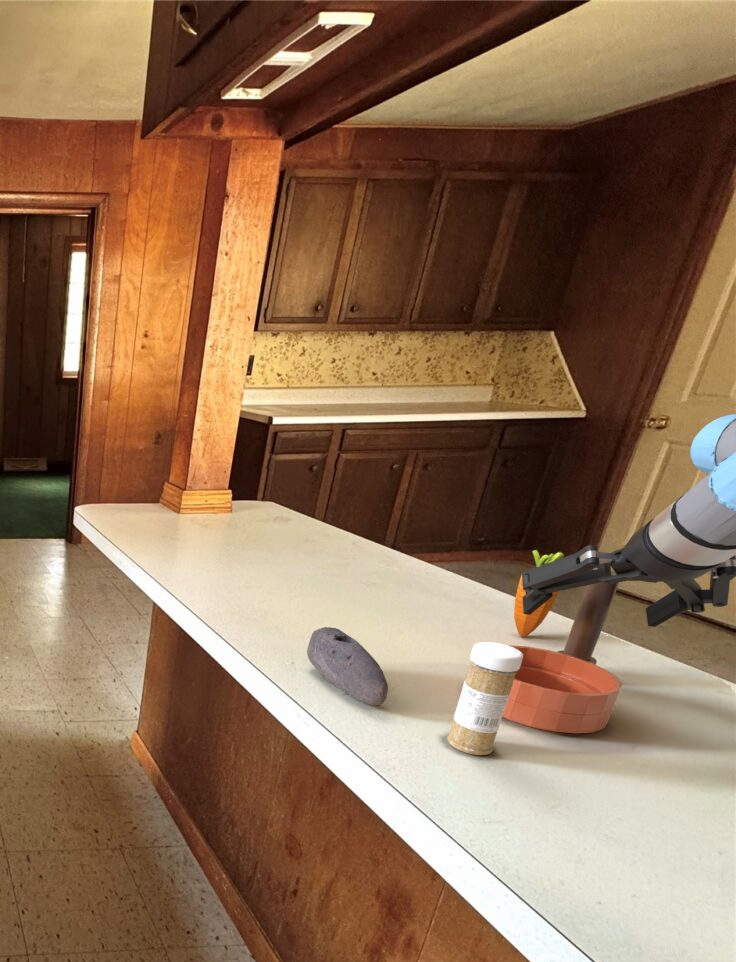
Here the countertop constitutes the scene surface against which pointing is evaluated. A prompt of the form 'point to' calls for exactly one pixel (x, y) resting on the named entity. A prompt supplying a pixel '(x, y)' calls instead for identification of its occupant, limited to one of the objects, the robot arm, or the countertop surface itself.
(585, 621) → the brown pestle
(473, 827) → the countertop surface
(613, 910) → the countertop surface
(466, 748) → the sprinkles bottle
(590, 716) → the bowl
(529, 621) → the carrot
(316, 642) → the perforated stone tool
